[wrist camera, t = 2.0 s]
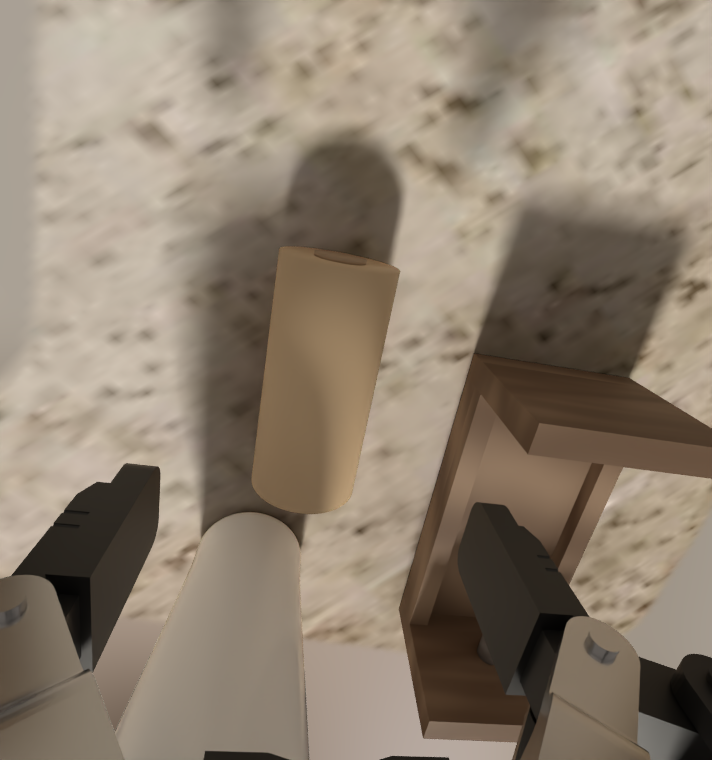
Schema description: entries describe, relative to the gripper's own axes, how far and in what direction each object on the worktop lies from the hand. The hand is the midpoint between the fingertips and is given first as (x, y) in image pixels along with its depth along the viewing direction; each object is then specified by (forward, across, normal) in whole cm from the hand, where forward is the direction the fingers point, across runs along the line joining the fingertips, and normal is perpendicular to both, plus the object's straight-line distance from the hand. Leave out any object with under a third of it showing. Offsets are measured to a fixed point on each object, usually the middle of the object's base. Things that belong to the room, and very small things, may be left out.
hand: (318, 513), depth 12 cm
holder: (+10, -11, +6) cm, 16 cm away
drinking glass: (+11, +2, +10) cm, 15 cm away
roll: (+10, 0, 0) cm, 11 cm away
